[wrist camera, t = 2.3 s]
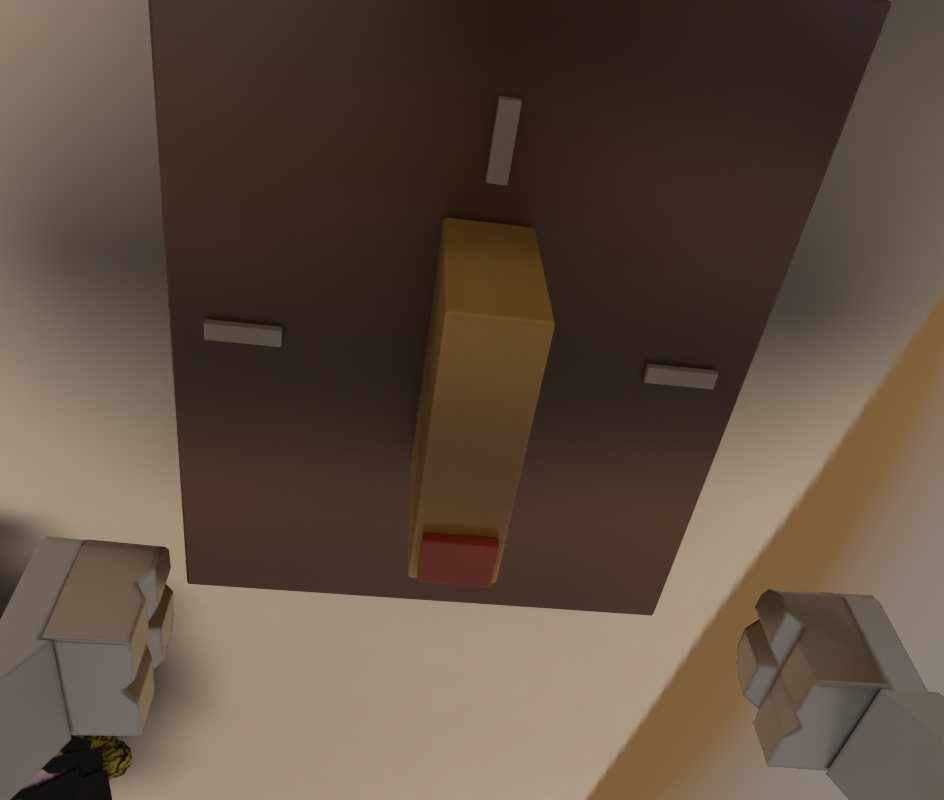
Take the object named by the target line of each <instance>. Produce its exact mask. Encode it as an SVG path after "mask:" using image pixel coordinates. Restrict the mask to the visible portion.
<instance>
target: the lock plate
mask: <svg viewBox="0 0 944 800" xmlns="http://www.w3.org/2000/svg"><path fill="white" fill-rule="evenodd" d="M148 2H149V17H150V32H151V47H152V62H153V77H154V92H155V107H156V121H157V136H158V151H159V166H160V181H161V196H162V211H163V226H164V241H165V256H166V271H167V286H168V301H169V316H170V331H171V346H172V360H173V375H174V390H175V405H176V420H177V435H178V450H179V465H180V480H181V495H182V510H183V525H184V540H185V555H186V570H187V582H188V583H189V584H200V585H215V586H230V587H244V588H259V589H274V590H288V591H303V592H318V593H332V594H347V595H362V596H376V597H391V598H405V599H420V600H435V601H449V602H464V603H479V604H493V605H508V606H523V607H537V608H552V609H567V610H581V611H596V612H611V613H625V614H640V615H653V613H654V611H655V608H656V605H657V603H658V600H659V598H660V595H661V593H662V590H663V587H664V585H665V582H666V580H667V577H668V575H669V572H670V570H671V567H672V564H673V562H674V559H675V557H676V554H677V552H678V549H679V546H680V544H681V541H682V539H683V536H684V534H685V531H686V529H687V526H688V523H689V521H690V518H691V516H692V513H693V511H694V508H695V506H696V503H697V500H698V498H699V495H700V493H701V490H702V488H703V485H704V482H705V480H706V477H707V475H708V472H709V470H710V467H711V465H712V462H713V459H714V457H715V454H716V452H717V449H718V447H719V444H720V441H721V439H722V436H723V434H724V431H725V429H726V426H727V424H728V421H729V418H730V416H731V413H732V411H733V408H734V406H735V403H736V400H737V398H738V395H739V393H740V390H741V388H742V385H743V383H744V380H745V377H746V375H747V372H748V370H749V367H750V365H751V362H752V360H753V357H754V354H755V352H756V349H757V347H758V344H759V342H760V339H761V336H762V334H763V331H764V329H765V326H766V324H767V321H768V319H769V316H770V313H771V311H772V308H773V306H774V303H775V301H776V298H777V295H778V293H779V290H780V288H781V285H782V283H783V280H784V278H785V275H786V272H787V270H788V267H789V265H790V262H791V260H792V257H793V254H794V252H795V249H796V247H797V244H798V242H799V239H800V237H801V234H802V231H803V229H804V226H805V224H806V221H807V219H808V216H809V213H810V211H811V208H812V206H813V203H814V201H815V198H816V196H817V193H818V190H819V188H820V185H821V183H822V180H823V178H824V175H825V173H826V170H827V167H828V165H829V162H830V160H831V157H832V155H833V152H834V149H835V147H836V144H837V142H838V139H839V137H840V134H841V132H842V129H843V126H844V124H845V121H846V119H847V116H848V114H849V111H850V108H851V106H852V103H853V101H854V98H855V96H856V93H857V91H858V88H859V85H860V83H861V80H862V78H863V75H864V73H865V70H866V67H867V65H868V62H869V60H870V57H871V55H872V52H873V50H874V47H875V44H876V42H877V39H878V37H879V34H880V32H881V29H882V27H883V24H884V21H885V19H886V16H887V14H888V11H889V9H890V6H891V2H890V1H889V0H148ZM445 218H455V219H463V220H472V221H481V222H489V223H498V224H506V225H515V226H524V227H532V228H534V229H535V232H536V237H537V241H538V246H539V251H540V256H541V261H542V265H543V270H544V275H545V280H546V284H547V289H548V294H549V299H550V303H551V308H552V313H553V318H554V323H555V328H554V332H553V336H552V341H551V345H550V349H549V354H548V358H547V363H546V367H545V371H544V376H543V380H542V384H541V389H540V393H539V398H538V402H537V406H536V411H535V415H534V419H533V424H532V428H531V433H530V437H529V441H528V446H527V450H526V454H525V459H524V463H523V468H522V472H521V476H520V481H519V485H518V489H517V494H516V498H515V503H514V507H513V511H512V516H511V520H510V524H509V529H508V533H507V538H506V542H505V546H504V551H503V555H502V559H501V564H500V568H499V573H498V577H497V580H496V582H495V583H491V586H490V587H487V586H473V585H458V584H444V583H430V582H418V581H417V578H411V577H409V575H408V548H409V516H410V484H411V459H412V452H413V444H414V437H415V429H416V422H417V414H418V406H419V399H420V391H421V384H422V376H423V368H424V361H425V353H426V346H427V338H428V331H429V323H430V315H431V308H432V300H433V293H434V285H435V278H436V270H437V262H438V255H439V247H440V240H441V232H442V224H443V220H444V219H445Z"/></svg>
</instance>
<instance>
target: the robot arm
mask: <svg viewBox="0 0 944 800" xmlns="http://www.w3.org/2000/svg"><path fill="white" fill-rule="evenodd" d="M170 568H171V566H170V557H169V549H167V548H166V547H160V546H150V545H139V544H129V543H118V542H108V541H97V540H79V539H69V538H58V537H48V536H47V537H46V538H45V539H44V540H43V541H42V542H41V543H40V544H39V545H38V546H37V547H36V549H35V551H34V553H33V555H32V557H31V559H30V561H29V563H28V565H27V567H26V569H25V571H24V573H23V575H22V577H21V579H20V581H19V583H18V585H17V587H16V589H15V591H14V593H13V595H12V597H11V599H10V601H9V603H8V605H7V607H6V609H5V611H4V613H3V615H2V617H1V619H0V800H11V799H12V798H13V797H14V796H15V795H16V794H17V793H18V792H19V791H20V790H21V789H22V788H23V787H24V786H25V785H26V784H27V783H28V782H29V781H30V780H31V779H32V778H33V777H34V776H35V775H36V774H37V773H38V772H39V771H40V770H41V769H42V768H43V767H44V766H45V765H46V764H47V763H48V762H49V761H50V760H51V759H52V758H53V757H54V756H55V755H56V754H57V753H58V752H59V751H60V750H61V749H62V748H63V747H64V746H65V745H66V744H67V743H68V742H69V741H70V740H71V735H99V736H142V733H143V729H144V726H145V723H146V719H147V716H148V713H149V709H150V706H151V703H152V699H153V696H154V693H155V686H154V675H153V670H154V669H156V668H157V667H158V666H159V665H160V664H162V663H163V662H164V658H165V655H166V651H167V648H168V644H169V639H170V633H171V627H172V621H173V591H172V590H171V589H170V588H169V587H168V586H167V585H166V581H167V577H168V574H169V571H170ZM755 608H756V610H757V614H758V616H759V620H757V621H756V622H754V623H753V624H751V625H750V626H748V627H747V628H745V630H744V632H743V634H742V637H741V639H740V641H739V644H738V651H737V663H736V664H737V672H738V679H739V682H740V685H741V688H742V691H743V694H744V696H745V697H746V698H747V699H748V700H749V701H750V702H752V703H753V704H754V705H755V706H756V707H757V708H758V709H759V711H758V713H757V715H756V718H755V720H754V722H753V724H754V727H755V730H756V733H757V736H758V739H759V742H760V745H761V748H762V750H763V754H764V756H765V760H766V763H767V765H768V766H772V767H786V768H799V769H811V770H826V771H827V773H826V774H827V775H828V776H829V778H831V780H832V781H833V782H834V783H835V784H836V785H837V787H838V788H839V789H840V790H841V791H842V792H843V794H844V795H845V796H846V797H847V798H848V799H849V800H944V697H943V696H942V695H941V694H939V693H936V692H928V691H927V689H926V687H925V685H924V683H923V681H922V680H921V678H920V676H919V674H918V672H917V670H916V668H915V667H914V665H913V663H912V661H911V659H910V657H909V655H908V654H907V652H906V650H905V648H904V646H903V644H902V643H901V641H900V639H899V637H898V635H897V633H896V631H895V630H894V628H893V626H892V624H891V622H890V621H889V619H888V617H887V615H886V613H885V611H884V610H883V607H882V606H881V604H880V602H879V601H878V600H876V599H875V598H874V597H873V596H870V595H854V594H833V593H825V592H807V591H790V590H774V589H768V590H767V591H766V592H765V593H763V594H762V595H761V597H760V599H759V601H758V603H757V605H756V607H755Z"/></svg>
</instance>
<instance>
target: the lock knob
mask: <svg viewBox="0 0 944 800" xmlns="http://www.w3.org/2000/svg"><path fill="white" fill-rule="evenodd" d="M554 328H555V323H554V318H553V313H552V308H551V303H550V299H549V294H548V289H547V284H546V280H545V275H544V270H543V265H542V261H541V256H540V251H539V246H538V241H537V237H536V232H535V229H534V228H532V227H524V226H515V225H506V224H498V223H489V222H481V221H472V220H463V219H455V218H445V219H444V220H443V224H442V232H441V240H440V247H439V255H438V262H437V270H436V278H435V285H434V293H433V300H432V308H431V315H430V323H429V331H428V338H427V346H426V353H425V361H424V368H423V376H422V384H421V391H420V399H419V406H418V414H417V422H416V429H415V437H414V444H413V452H412V459H411V484H410V516H409V548H408V575H409V577H411V578H417V581H418V582H430V583H444V584H458V585H473V586H487V587H490V586H491V583H495V582H496V580H497V577H498V573H499V568H500V564H501V559H502V555H503V551H504V546H505V542H506V538H507V533H508V529H509V524H510V520H511V516H512V511H513V507H514V503H515V498H516V494H517V489H518V485H519V481H520V476H521V472H522V468H523V463H524V459H525V454H526V450H527V446H528V441H529V437H530V433H531V428H532V424H533V419H534V415H535V411H536V406H537V402H538V398H539V393H540V389H541V384H542V380H543V376H544V371H545V367H546V363H547V358H548V354H549V349H550V345H551V341H552V336H553V332H554Z"/></svg>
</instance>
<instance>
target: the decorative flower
mask: <svg viewBox="0 0 944 800" xmlns="http://www.w3.org/2000/svg"><path fill="white" fill-rule="evenodd" d="M116 737H117V736H99V735H84V738H80V737H77V736H73V735H71V740H70V741H69V742H68V743H67V744H66V745H65V746H64V747H63V748H62V749H61V750H60V751H59V752H58V753H57V754H56V755H55V756H54V757H53V758H52V759H51V760H50V761H49V762H48V763H47V764H46V765H45V766H44V767H43V768H42V769H41V770H40V771H39V772H38V773H37V774H36V775H35V776H34V777H33V778H32V779H31V780H30V781H29V782H28V783H27V784H26V785H25V786H24V787H23V788H22V789H21V790H20V791H19V792H18V793H17V794H16V795H15V796H14V797H13V798H12V799H11V800H112V796H111V790H110V785H109V780H110V779H112V778H115V777H118V776H120V775H123V774H125V772H126V770H127V768H128V767H129V766H130V765H131V764H132V761H131V758H132V756H131V752H130V749H131V748H129V747H128V746H126V744H125V743H124V741H123V742H122V741H118V740H117V739H116ZM114 739H116V741H114V742H113V740H114Z"/></svg>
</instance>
